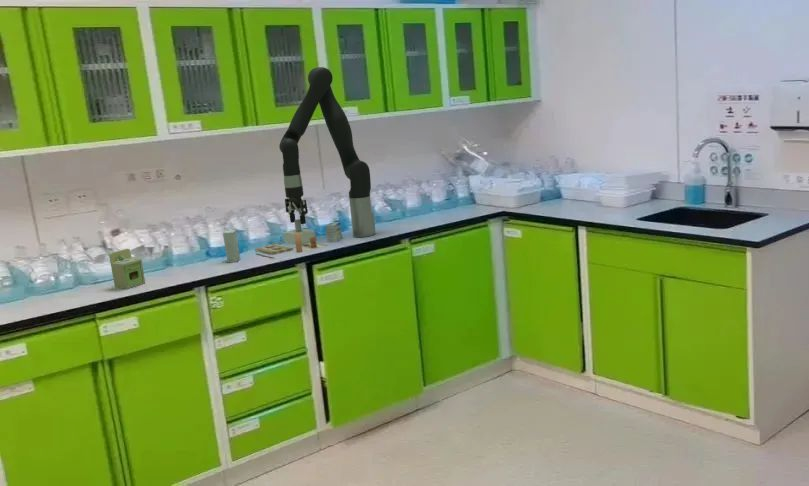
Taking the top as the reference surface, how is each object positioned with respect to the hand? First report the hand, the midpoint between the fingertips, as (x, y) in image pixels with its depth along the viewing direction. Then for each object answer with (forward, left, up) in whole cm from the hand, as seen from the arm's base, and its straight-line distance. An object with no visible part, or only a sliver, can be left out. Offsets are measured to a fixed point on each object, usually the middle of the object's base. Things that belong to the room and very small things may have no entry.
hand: (298, 223), depth 325 cm
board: (+3, +13, -10) cm, 16 cm away
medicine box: (-10, +12, -10) cm, 18 cm away
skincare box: (+32, +1, -10) cm, 34 cm away
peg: (+11, +18, -10) cm, 23 cm away
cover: (0, 0, -10) cm, 10 cm away
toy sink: (+75, +4, -10) cm, 76 cm away
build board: (+16, +6, -10) cm, 20 cm away
